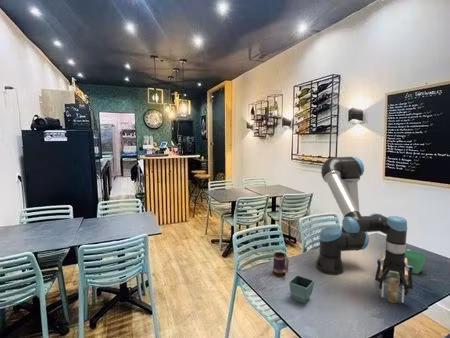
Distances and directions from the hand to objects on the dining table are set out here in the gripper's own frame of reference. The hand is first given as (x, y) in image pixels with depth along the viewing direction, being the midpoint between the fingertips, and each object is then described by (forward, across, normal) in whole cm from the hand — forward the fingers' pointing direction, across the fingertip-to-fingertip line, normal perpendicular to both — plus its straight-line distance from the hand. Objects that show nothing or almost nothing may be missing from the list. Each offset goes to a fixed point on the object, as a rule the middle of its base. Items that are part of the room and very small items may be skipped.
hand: (392, 298), depth 123 cm
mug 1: (+1, -52, -5) cm, 52 cm away
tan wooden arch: (+1, 0, +20) cm, 20 cm away
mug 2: (+1, +9, +40) cm, 41 cm away
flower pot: (+1, -36, -21) cm, 42 cm away
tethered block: (+1, 0, +10) cm, 11 cm away
